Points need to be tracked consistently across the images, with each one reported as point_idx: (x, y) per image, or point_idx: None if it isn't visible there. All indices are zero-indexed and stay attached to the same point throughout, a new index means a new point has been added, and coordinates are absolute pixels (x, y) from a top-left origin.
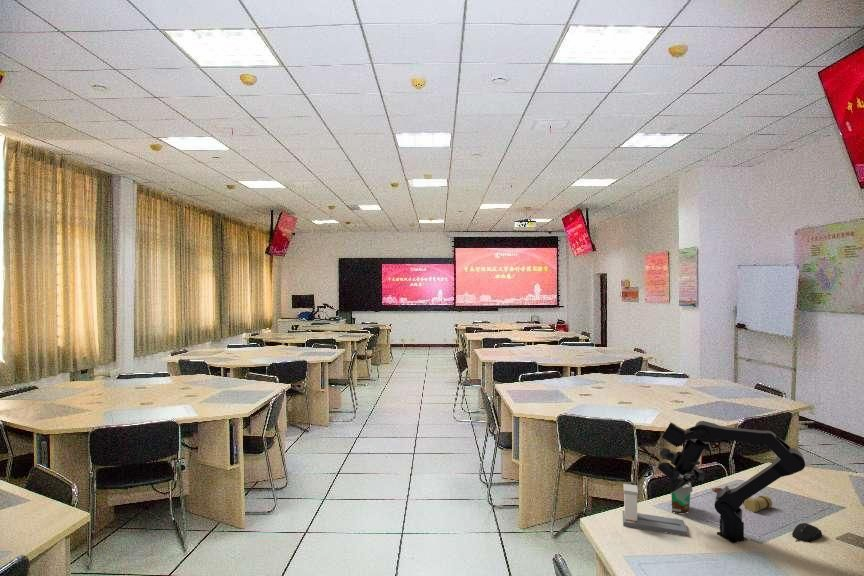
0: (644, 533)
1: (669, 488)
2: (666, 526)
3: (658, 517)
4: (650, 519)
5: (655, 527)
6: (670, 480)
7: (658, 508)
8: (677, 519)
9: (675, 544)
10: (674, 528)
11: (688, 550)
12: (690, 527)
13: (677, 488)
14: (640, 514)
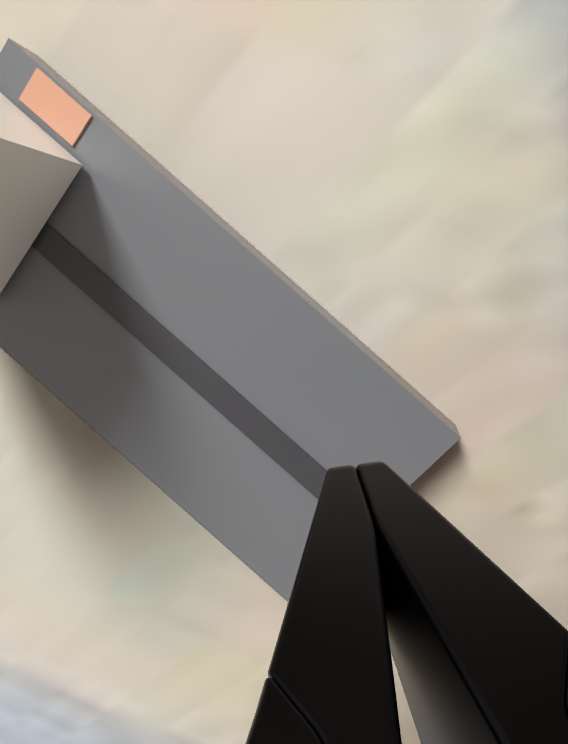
0: (11, 410)
1: (322, 488)
2: (189, 465)
3: (257, 301)
4: (144, 310)
5: (98, 428)
6: (257, 722)
7: (535, 26)
8: (410, 407)
9: (115, 610)
10: (229, 519)
11: (140, 693)
12: (462, 491)
13: (408, 694)
14: (129, 179)
